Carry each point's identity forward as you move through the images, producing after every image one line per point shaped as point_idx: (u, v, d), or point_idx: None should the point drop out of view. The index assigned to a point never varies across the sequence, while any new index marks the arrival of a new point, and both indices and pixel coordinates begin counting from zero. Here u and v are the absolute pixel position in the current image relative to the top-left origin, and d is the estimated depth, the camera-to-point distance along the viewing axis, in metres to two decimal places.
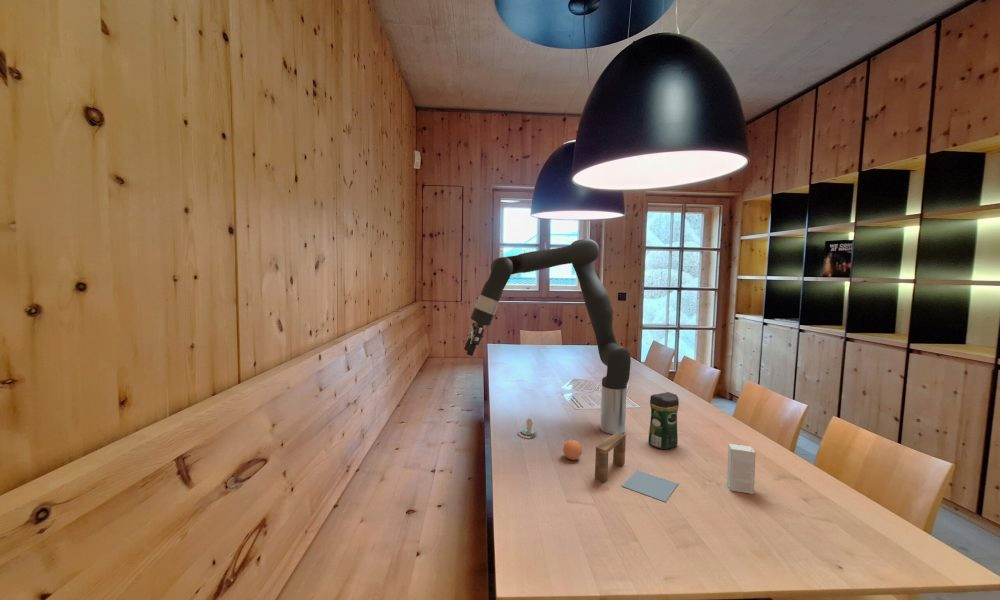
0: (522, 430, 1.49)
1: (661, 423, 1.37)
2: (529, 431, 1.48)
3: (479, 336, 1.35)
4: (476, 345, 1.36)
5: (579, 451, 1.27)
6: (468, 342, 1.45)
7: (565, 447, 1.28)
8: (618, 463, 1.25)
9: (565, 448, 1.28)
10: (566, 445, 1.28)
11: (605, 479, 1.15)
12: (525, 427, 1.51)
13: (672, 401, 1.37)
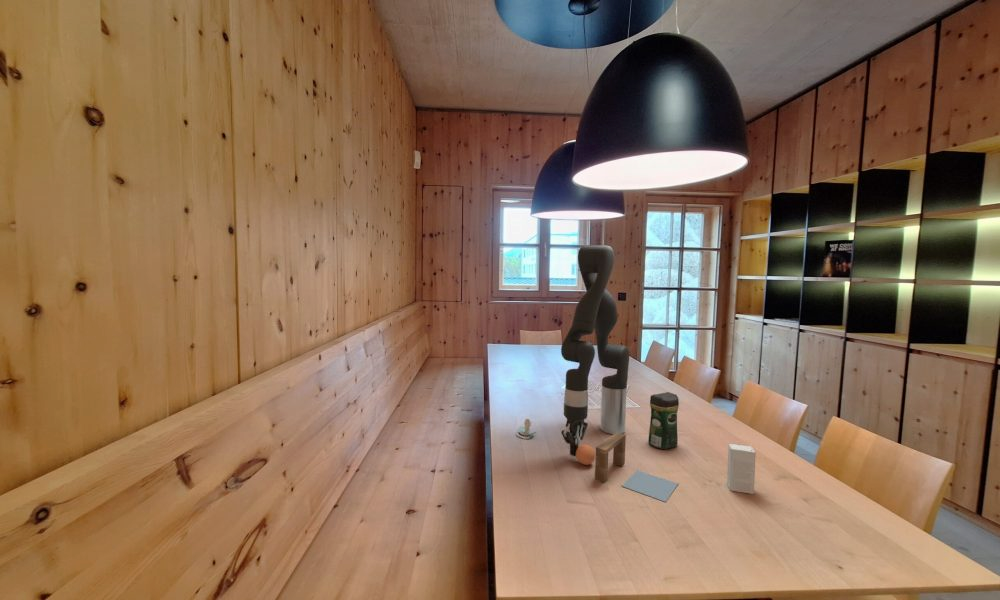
0: (520, 430, 1.48)
1: (661, 423, 1.37)
2: (527, 431, 1.47)
3: (568, 439, 1.24)
4: (575, 445, 1.27)
5: None
6: (572, 445, 1.29)
7: (582, 453, 1.23)
8: (618, 463, 1.25)
9: (582, 454, 1.23)
10: (585, 453, 1.23)
11: (605, 479, 1.15)
12: (523, 427, 1.50)
13: (672, 401, 1.37)
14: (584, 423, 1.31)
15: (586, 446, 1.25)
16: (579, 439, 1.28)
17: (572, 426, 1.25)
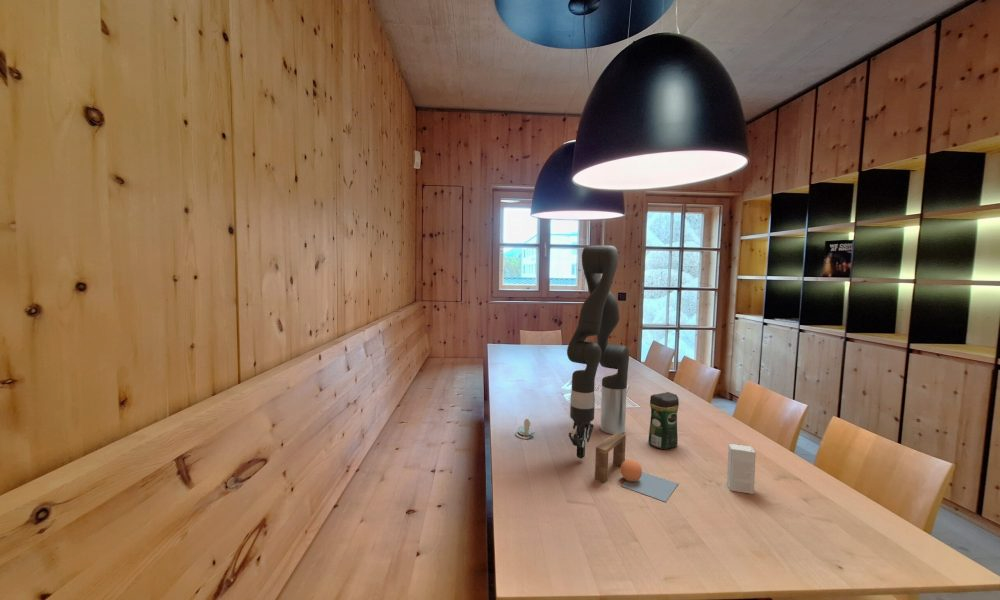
0: (519, 431, 1.48)
1: (661, 423, 1.37)
2: (526, 432, 1.47)
3: (575, 441, 1.23)
4: (582, 447, 1.26)
5: (639, 470, 1.14)
6: None
7: (623, 469, 1.15)
8: (618, 463, 1.25)
9: (623, 470, 1.15)
10: (623, 467, 1.15)
11: (605, 479, 1.15)
12: (522, 428, 1.50)
13: (672, 401, 1.37)
14: (590, 425, 1.30)
15: (621, 464, 1.17)
16: (586, 441, 1.27)
17: (579, 428, 1.23)
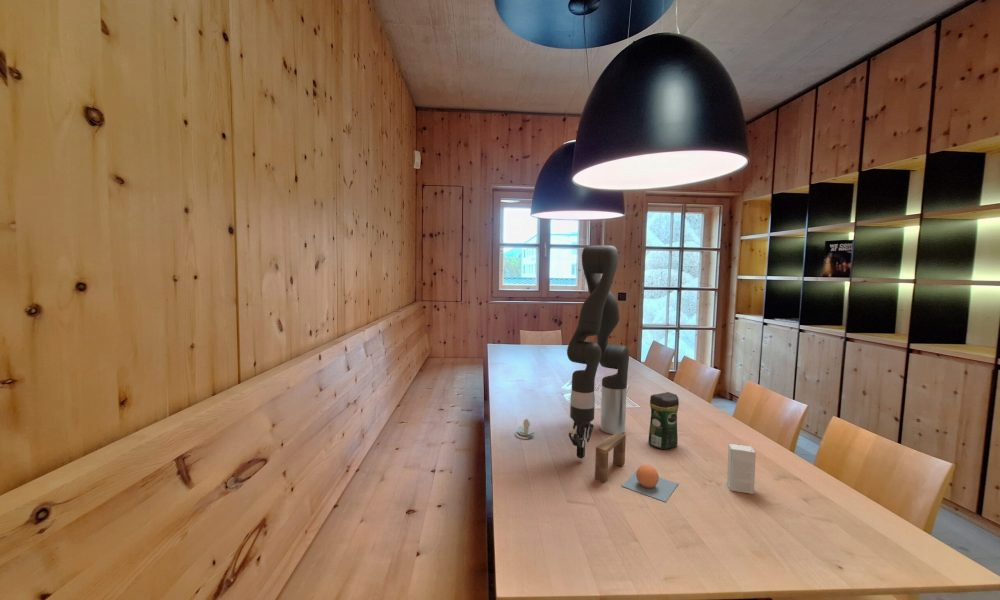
0: (519, 431, 1.48)
1: (661, 423, 1.37)
2: (526, 432, 1.47)
3: (575, 441, 1.23)
4: (582, 447, 1.26)
5: None
6: None
7: (647, 476, 1.10)
8: (618, 463, 1.25)
9: (646, 477, 1.10)
10: (649, 476, 1.10)
11: (605, 479, 1.15)
12: (522, 428, 1.50)
13: (672, 401, 1.37)
14: (590, 425, 1.30)
15: (651, 468, 1.12)
16: (586, 441, 1.27)
17: (579, 428, 1.23)
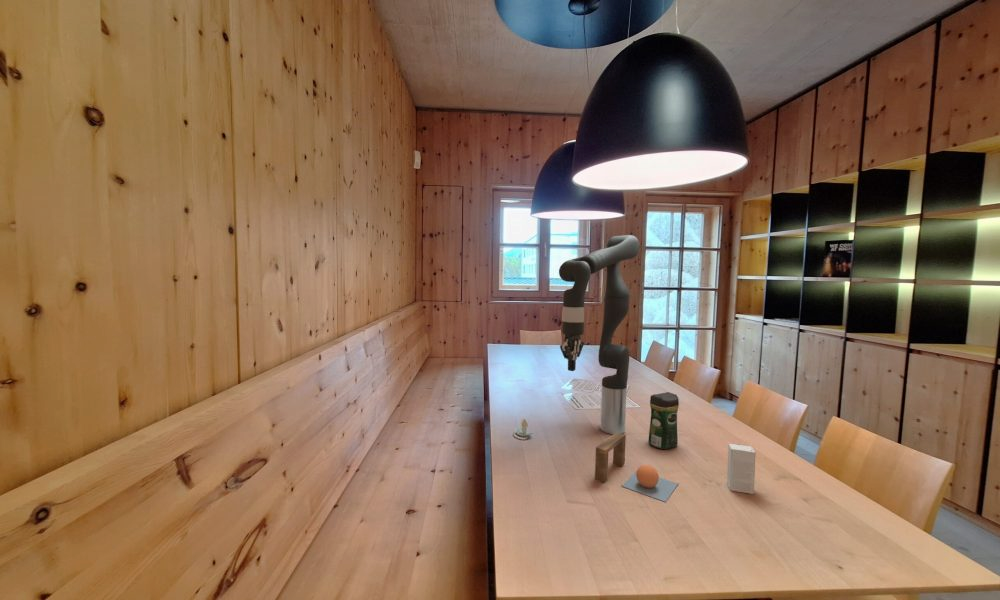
0: (517, 431, 1.48)
1: (661, 423, 1.37)
2: (524, 432, 1.46)
3: (566, 353, 1.32)
4: (573, 360, 1.35)
5: None
6: None
7: (647, 476, 1.10)
8: (618, 463, 1.25)
9: (646, 477, 1.10)
10: (649, 476, 1.10)
11: (605, 479, 1.15)
12: (520, 428, 1.50)
13: (672, 401, 1.37)
14: (580, 342, 1.39)
15: (651, 468, 1.12)
16: (576, 355, 1.36)
17: (570, 341, 1.32)
